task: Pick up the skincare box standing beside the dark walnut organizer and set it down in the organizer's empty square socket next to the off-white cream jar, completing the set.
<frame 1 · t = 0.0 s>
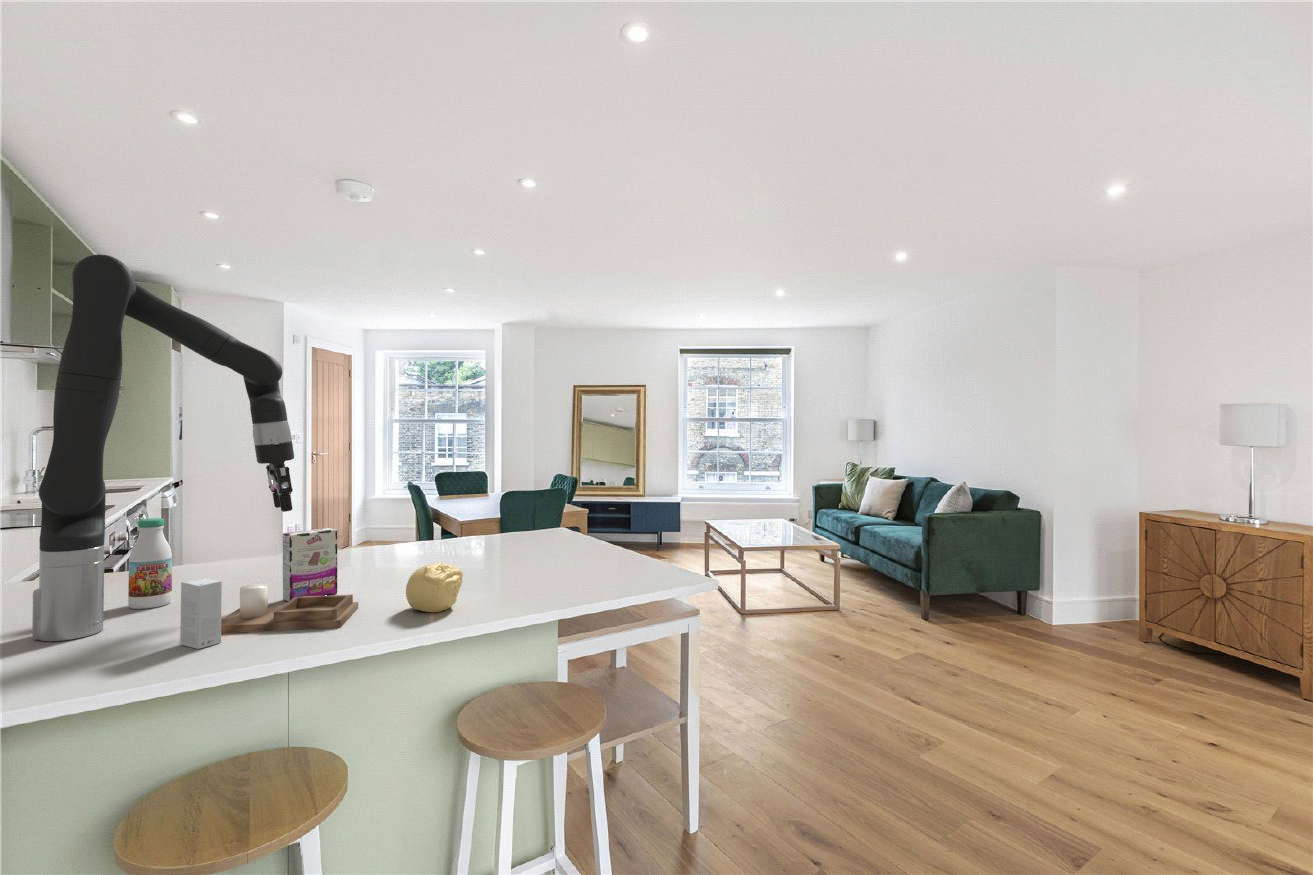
hand: (283, 509, 143), 22 cm above the worktop, tool pointing down, fingers open, 8 cm apart
skincare box: (200, 644, 115), on the worktop
milk bottle: (150, 606, 139), on the worktop
candy bar box: (309, 597, 148), on the worktop
sculpture: (433, 609, 141), on the worktop
walnut organizer: (289, 620, 130), on the worktop
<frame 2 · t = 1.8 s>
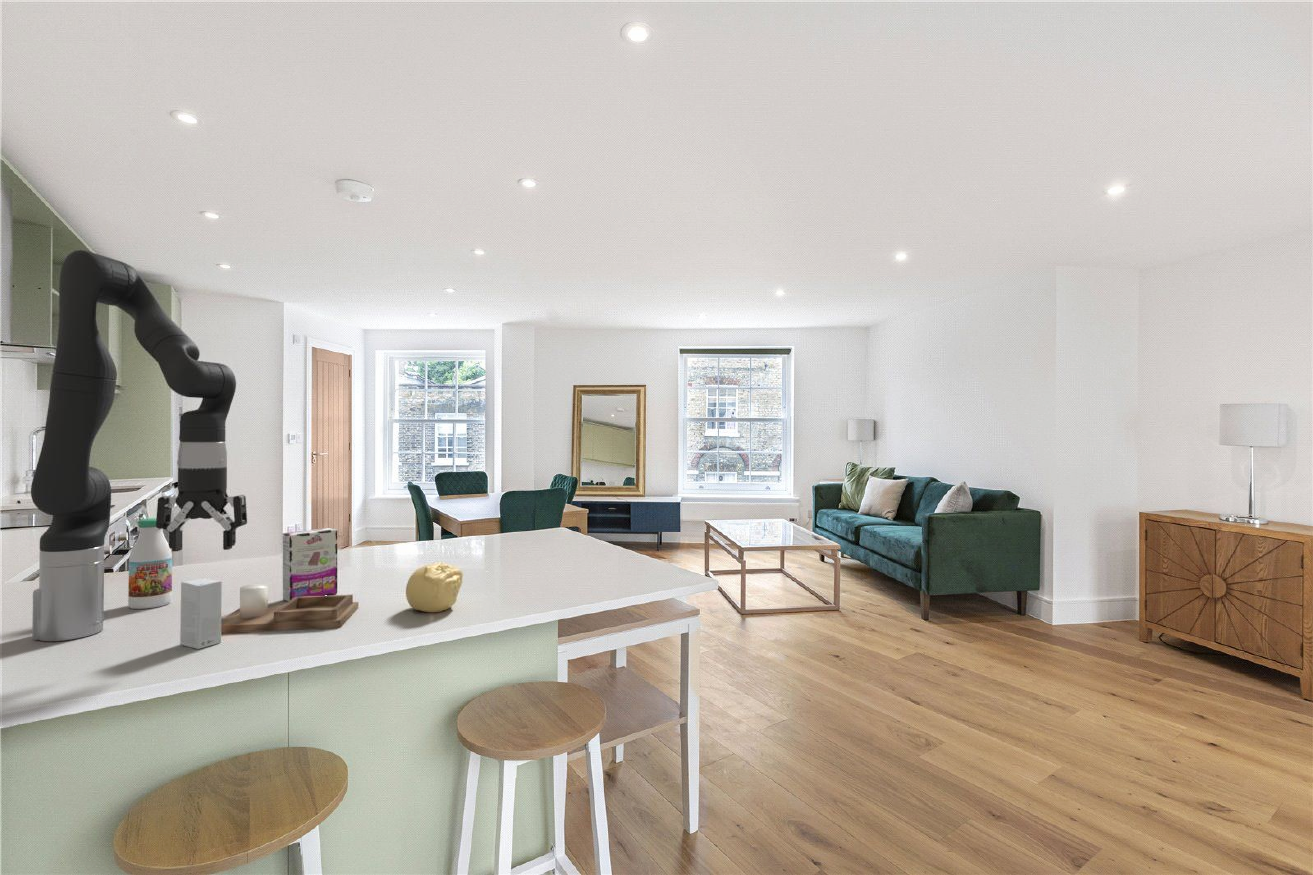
hand: (202, 550, 115), 18 cm above the worktop, tool pointing down, fingers open, 8 cm apart
nothing on the worktop moved.
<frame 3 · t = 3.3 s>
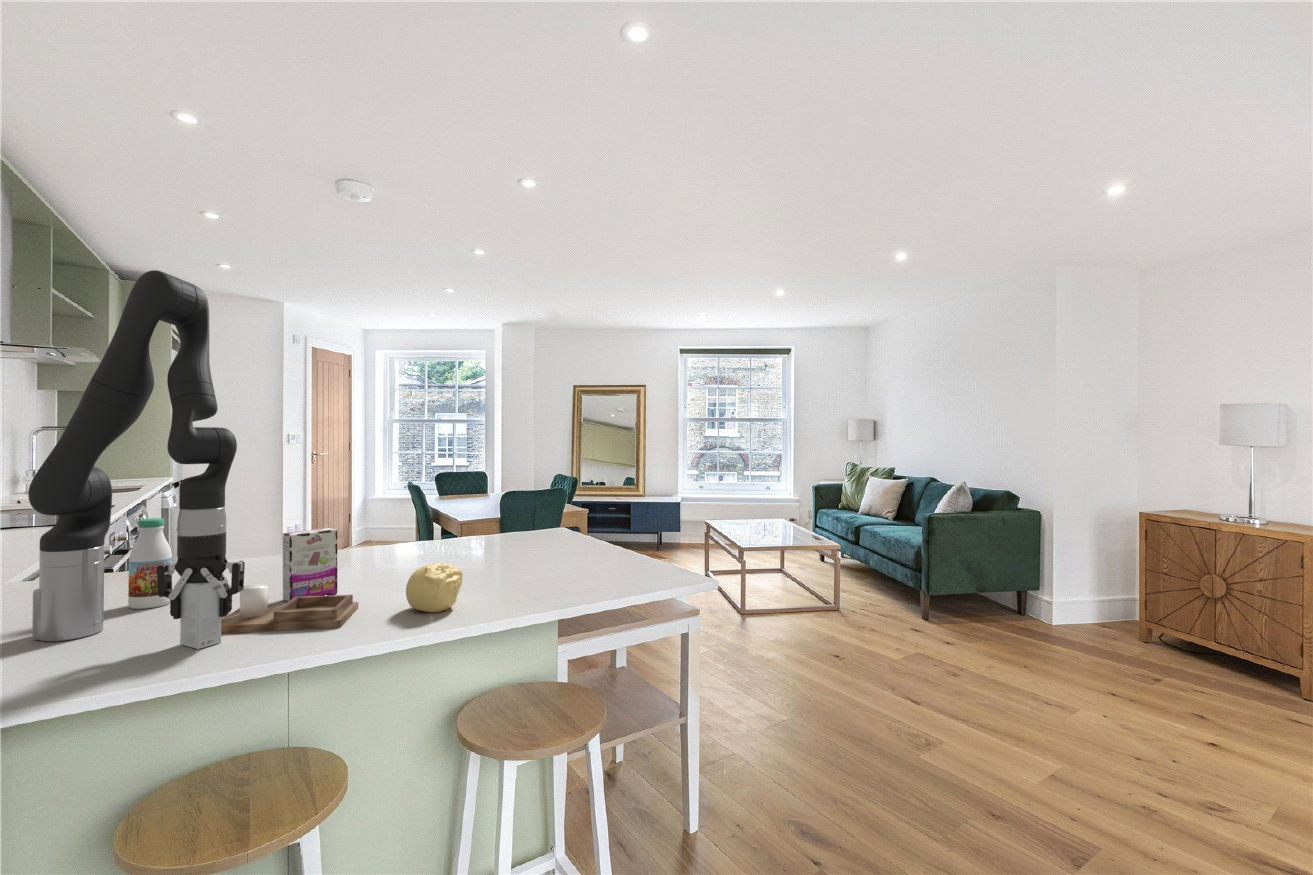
hand: (201, 616, 115), 5 cm above the worktop, tool pointing down, fingers closed on skincare box, 7 cm apart
skincare box: (200, 644, 115), on the worktop, touching gripper
everything else where it was.
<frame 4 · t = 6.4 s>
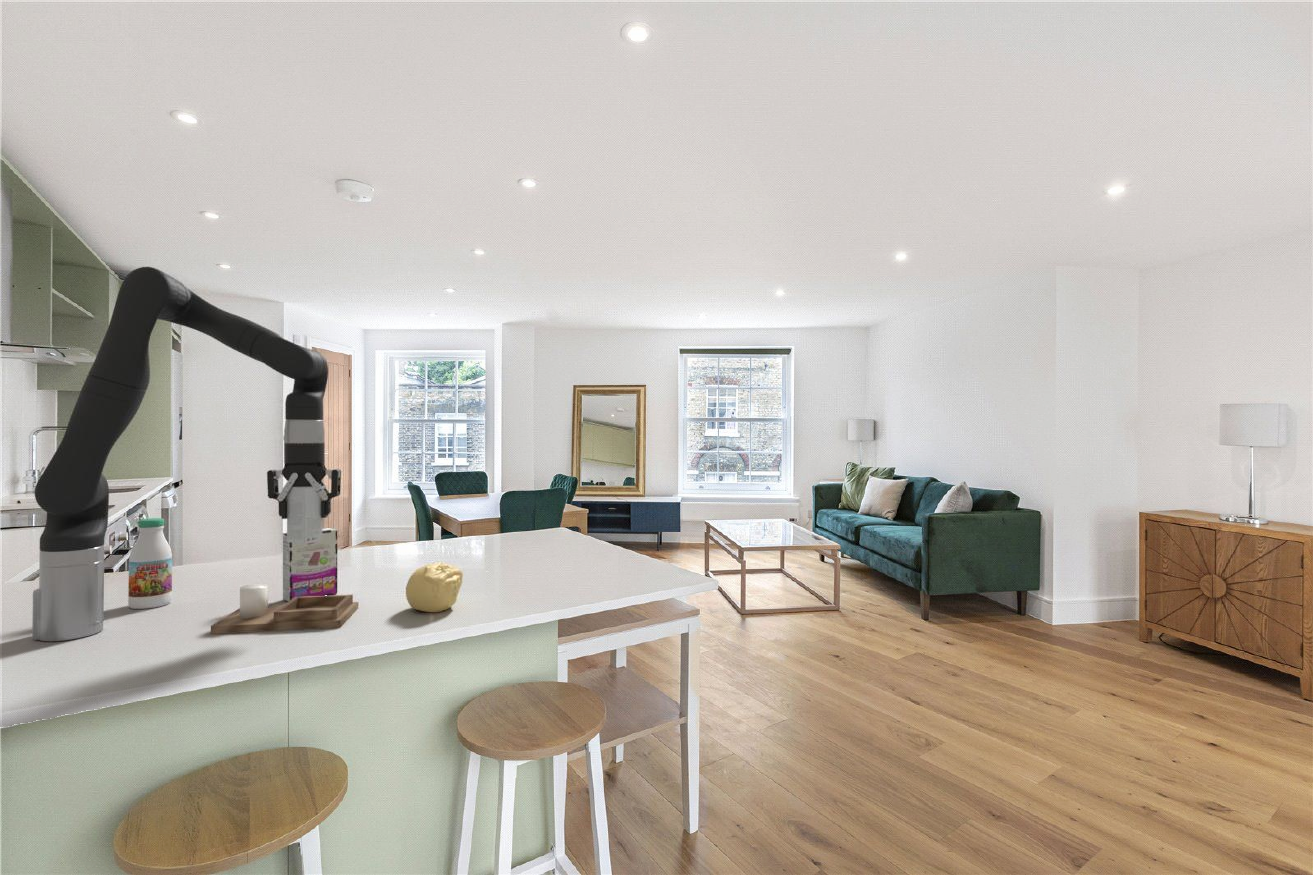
hand: (304, 517, 129), 22 cm above the worktop, tool pointing down, fingers closed on skincare box, 7 cm apart
skincare box: (304, 542, 129), point 17 cm above the worktop, touching gripper
everything else where it was.
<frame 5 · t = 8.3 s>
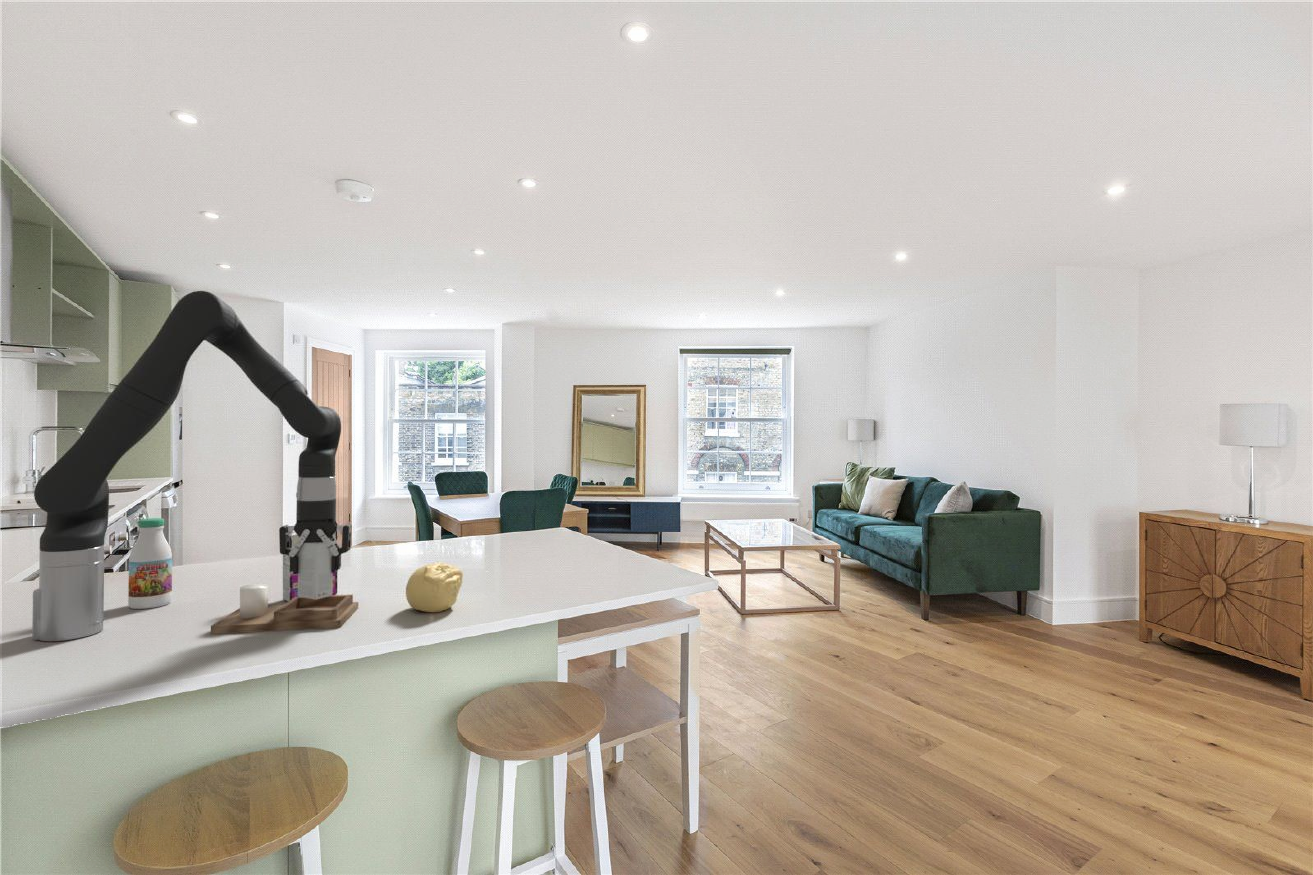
hand: (315, 572, 131), 10 cm above the worktop, tool pointing down, fingers closed on skincare box, 7 cm apart
skincare box: (315, 597, 131), point 5 cm above the worktop, touching gripper
everything else where it was.
when the fingers open (8 cm above the worktop, at t = 9.7 s): skincare box drops 1 cm, resting on walnut organizer.
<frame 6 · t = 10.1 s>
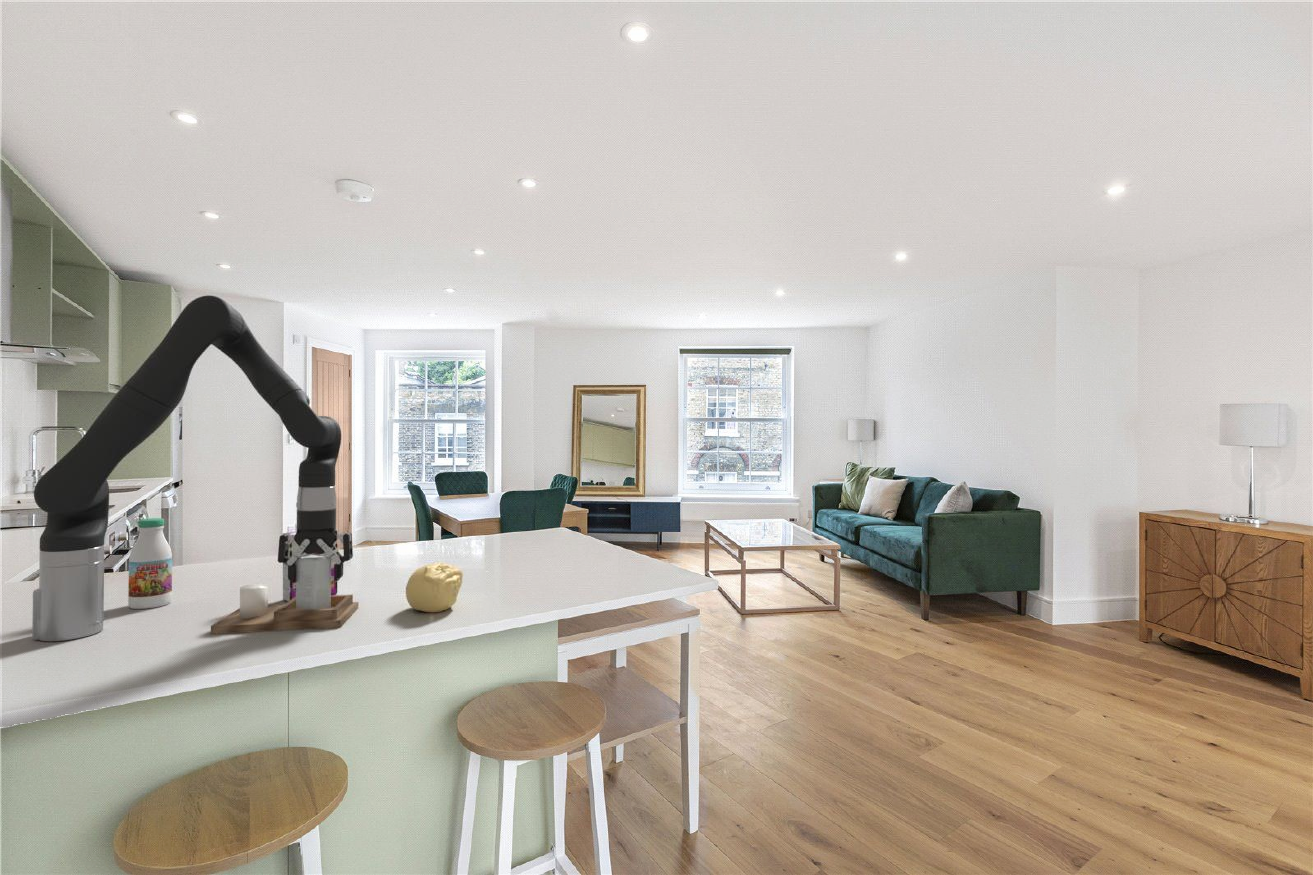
hand: (315, 581, 131), 8 cm above the worktop, tool pointing down, fingers open, 8 cm apart
skincare box: (313, 613, 131), point 1 cm above the worktop, touching walnut organizer
everything else where it was.
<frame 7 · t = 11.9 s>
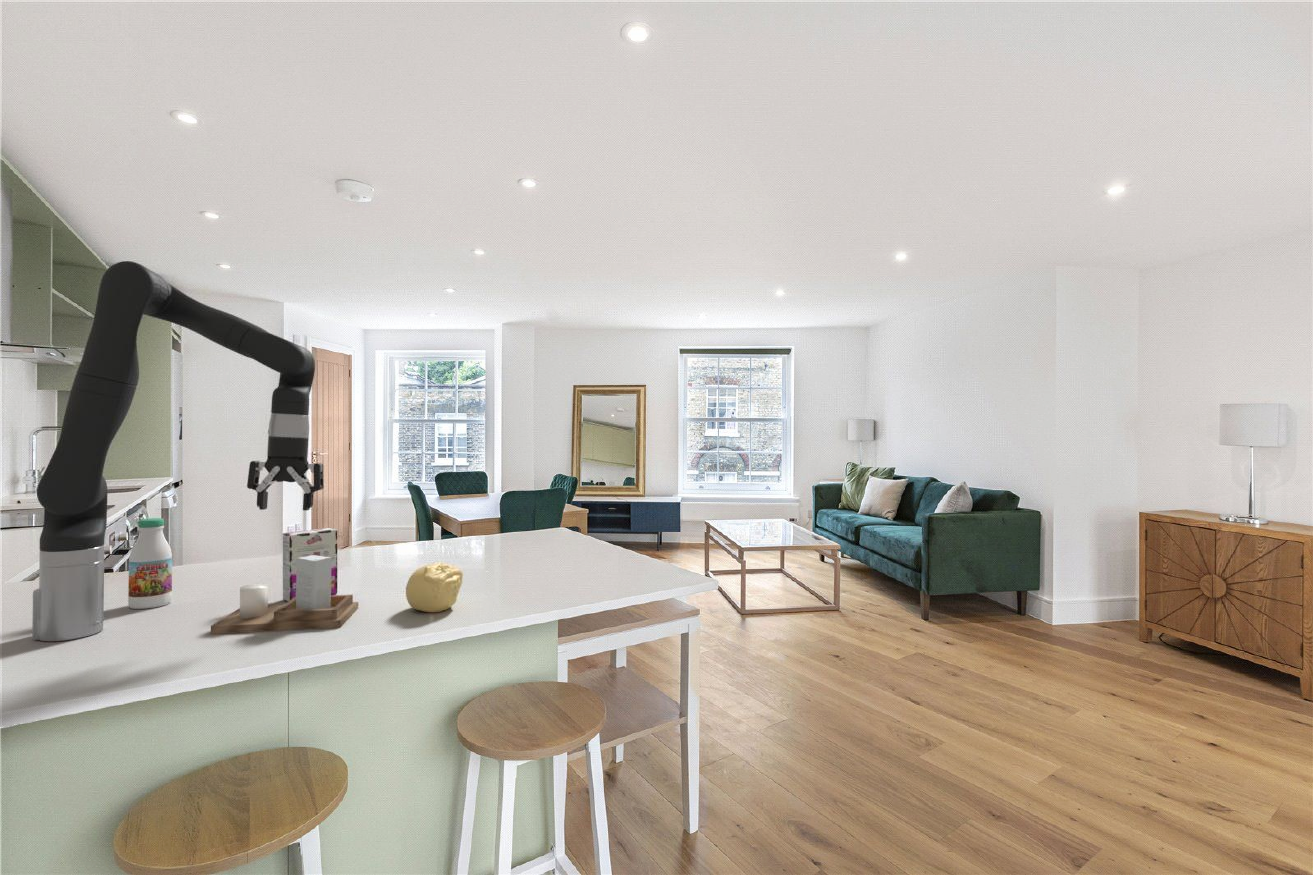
hand: (284, 509, 131), 24 cm above the worktop, tool pointing down, fingers open, 8 cm apart
nothing on the worktop moved.
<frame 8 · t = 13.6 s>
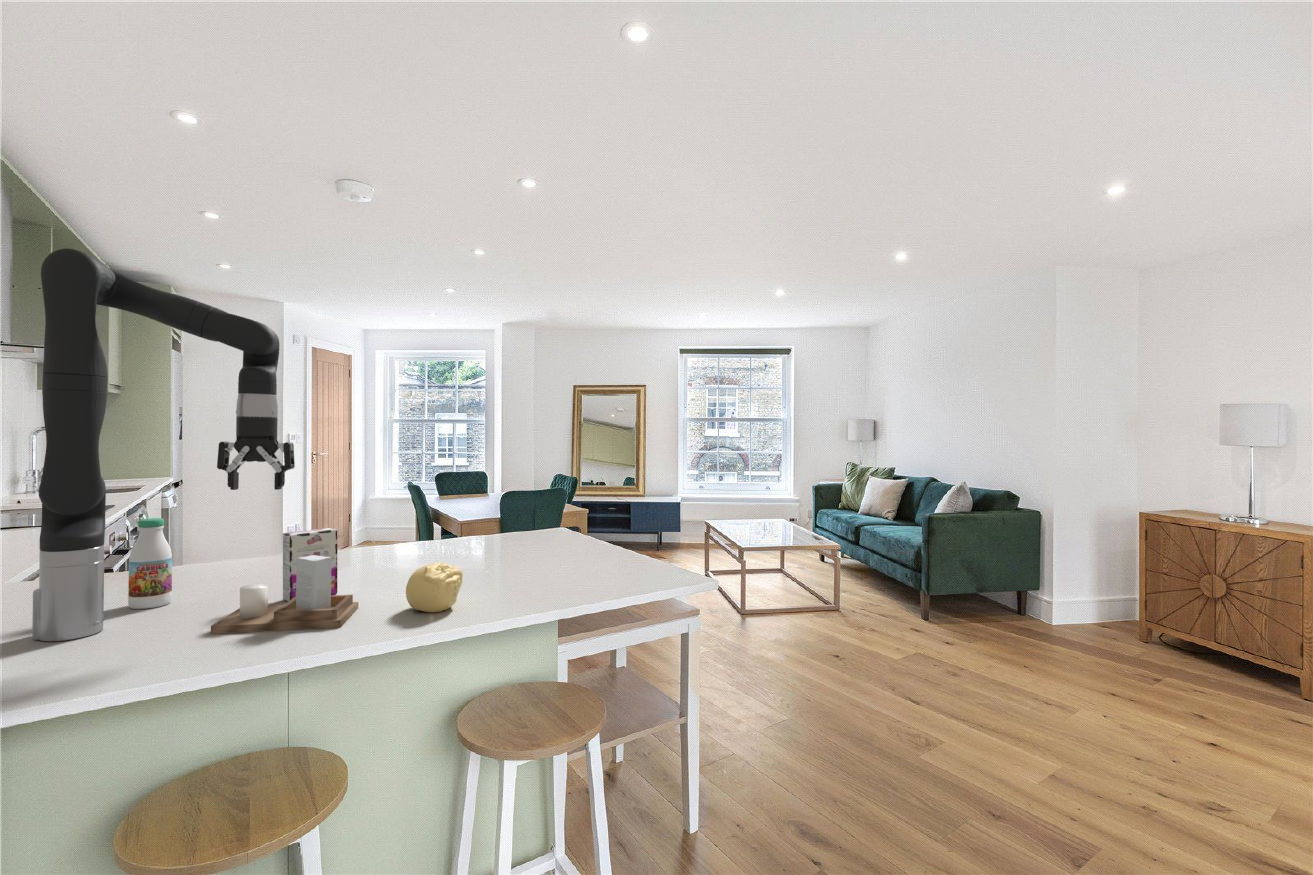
hand: (256, 489, 131), 28 cm above the worktop, tool pointing down, fingers open, 8 cm apart
nothing on the worktop moved.
at the end: skincare box inside the target area on the walnut organizer (0.4 cm from its centre), point 1.3 cm above the walnut organizer's base; skincare box tilted 0°; the gripper is holding nothing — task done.
